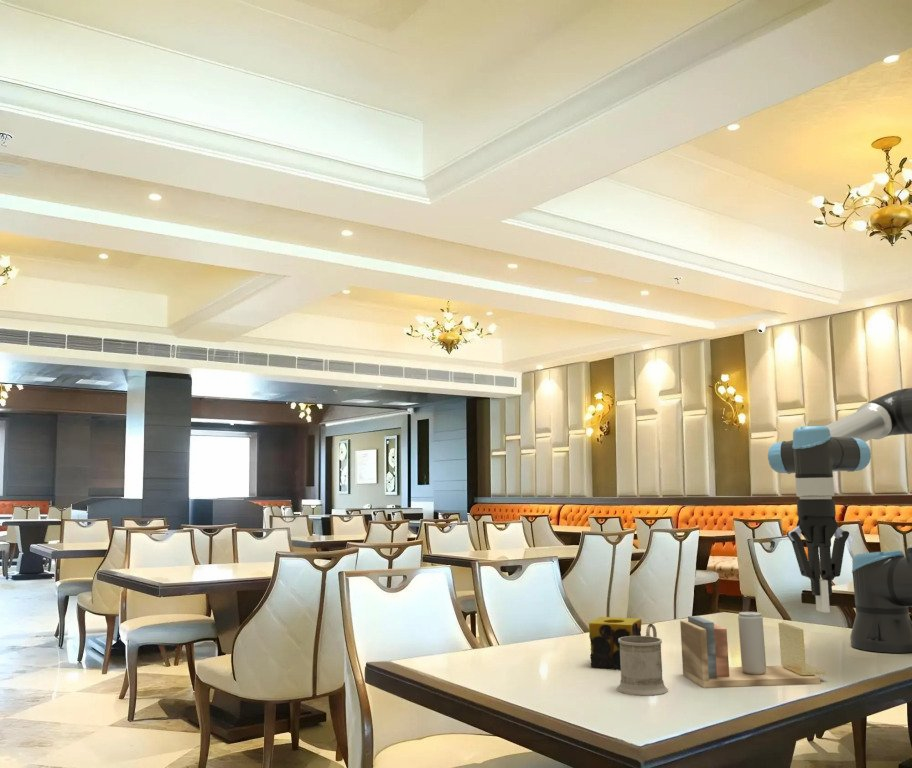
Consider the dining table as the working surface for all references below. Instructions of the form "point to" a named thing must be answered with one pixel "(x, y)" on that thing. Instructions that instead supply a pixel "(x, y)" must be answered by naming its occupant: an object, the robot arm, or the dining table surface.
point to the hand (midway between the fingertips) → (823, 611)
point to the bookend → (795, 651)
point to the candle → (610, 639)
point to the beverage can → (752, 643)
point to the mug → (641, 664)
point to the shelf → (735, 673)
